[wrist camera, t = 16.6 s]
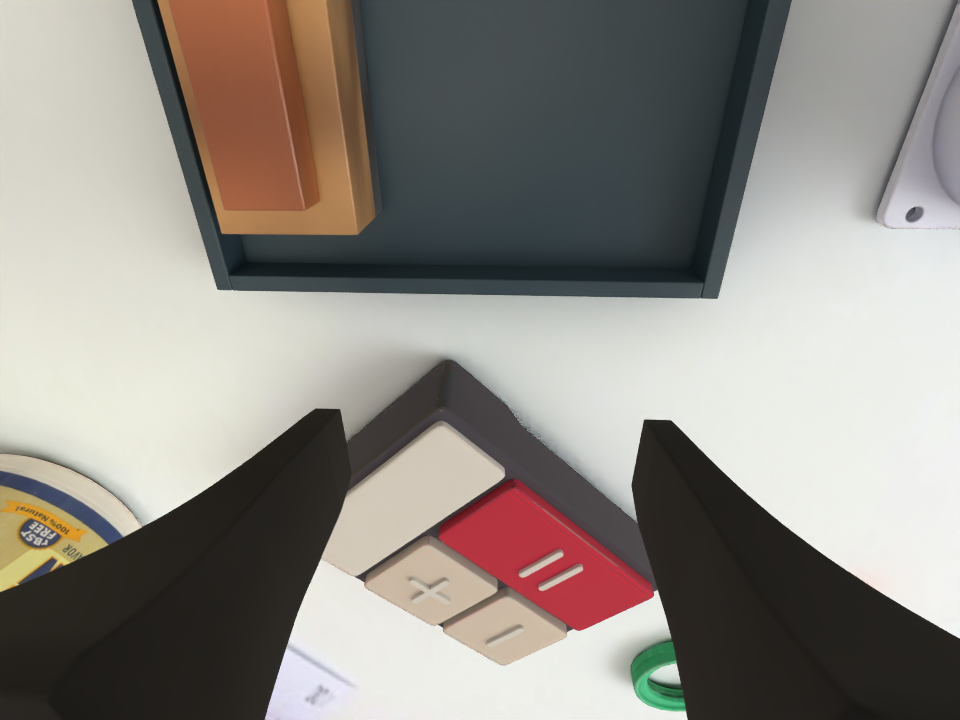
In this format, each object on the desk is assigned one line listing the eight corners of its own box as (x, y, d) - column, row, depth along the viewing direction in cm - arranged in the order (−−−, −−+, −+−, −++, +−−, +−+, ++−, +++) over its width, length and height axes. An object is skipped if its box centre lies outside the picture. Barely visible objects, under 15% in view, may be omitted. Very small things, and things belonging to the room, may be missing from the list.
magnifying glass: (668, 701, 34) (674, 730, 33) (610, 664, 32) (614, 692, 31) (890, 613, 28) (910, 642, 26) (833, 560, 26) (852, 589, 25)
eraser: (203, -71, 14) (88, -124, 10) (352, -77, 14) (288, -133, 10) (266, 210, 18) (199, 246, 14) (383, 211, 18) (346, 247, 14)
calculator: (502, 678, 27) (271, 549, 22) (502, 604, 31) (304, 477, 26) (673, 601, 23) (438, 416, 18) (650, 525, 27) (448, 353, 21)
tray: (810, -220, 12) (859, -270, 11) (699, 277, 19) (718, 299, 17) (124, -185, 14) (64, -225, 12) (244, 271, 20) (216, 290, 18)
